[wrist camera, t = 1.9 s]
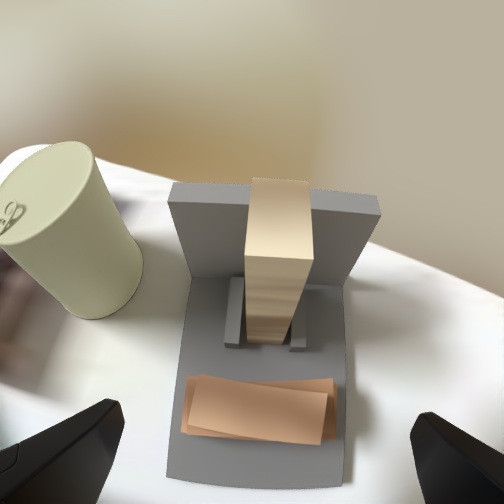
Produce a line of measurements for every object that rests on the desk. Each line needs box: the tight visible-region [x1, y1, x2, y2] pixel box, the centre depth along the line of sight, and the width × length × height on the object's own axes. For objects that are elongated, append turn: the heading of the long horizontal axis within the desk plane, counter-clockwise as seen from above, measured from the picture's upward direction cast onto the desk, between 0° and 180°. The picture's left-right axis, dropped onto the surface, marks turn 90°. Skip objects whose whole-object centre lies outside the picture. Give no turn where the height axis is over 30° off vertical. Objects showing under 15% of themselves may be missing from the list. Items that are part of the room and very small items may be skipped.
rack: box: [166, 182, 381, 489], centre depth 17 cm, size 18×12×10 cm
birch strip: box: [244, 177, 314, 345], centre depth 17 cm, size 4×2×12 cm, turn 176°
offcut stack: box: [181, 374, 337, 445], centre depth 17 cm, size 4×10×4 cm, turn 86°
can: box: [0, 141, 143, 319], centre depth 20 cm, size 9×9×12 cm
